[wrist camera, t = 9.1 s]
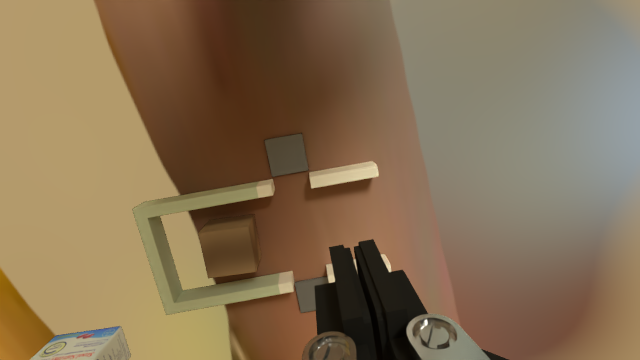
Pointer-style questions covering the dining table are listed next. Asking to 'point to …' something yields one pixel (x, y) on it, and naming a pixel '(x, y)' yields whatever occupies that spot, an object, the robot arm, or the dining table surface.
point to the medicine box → (87, 346)
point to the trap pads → (290, 159)
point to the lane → (152, 210)
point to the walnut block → (230, 246)
